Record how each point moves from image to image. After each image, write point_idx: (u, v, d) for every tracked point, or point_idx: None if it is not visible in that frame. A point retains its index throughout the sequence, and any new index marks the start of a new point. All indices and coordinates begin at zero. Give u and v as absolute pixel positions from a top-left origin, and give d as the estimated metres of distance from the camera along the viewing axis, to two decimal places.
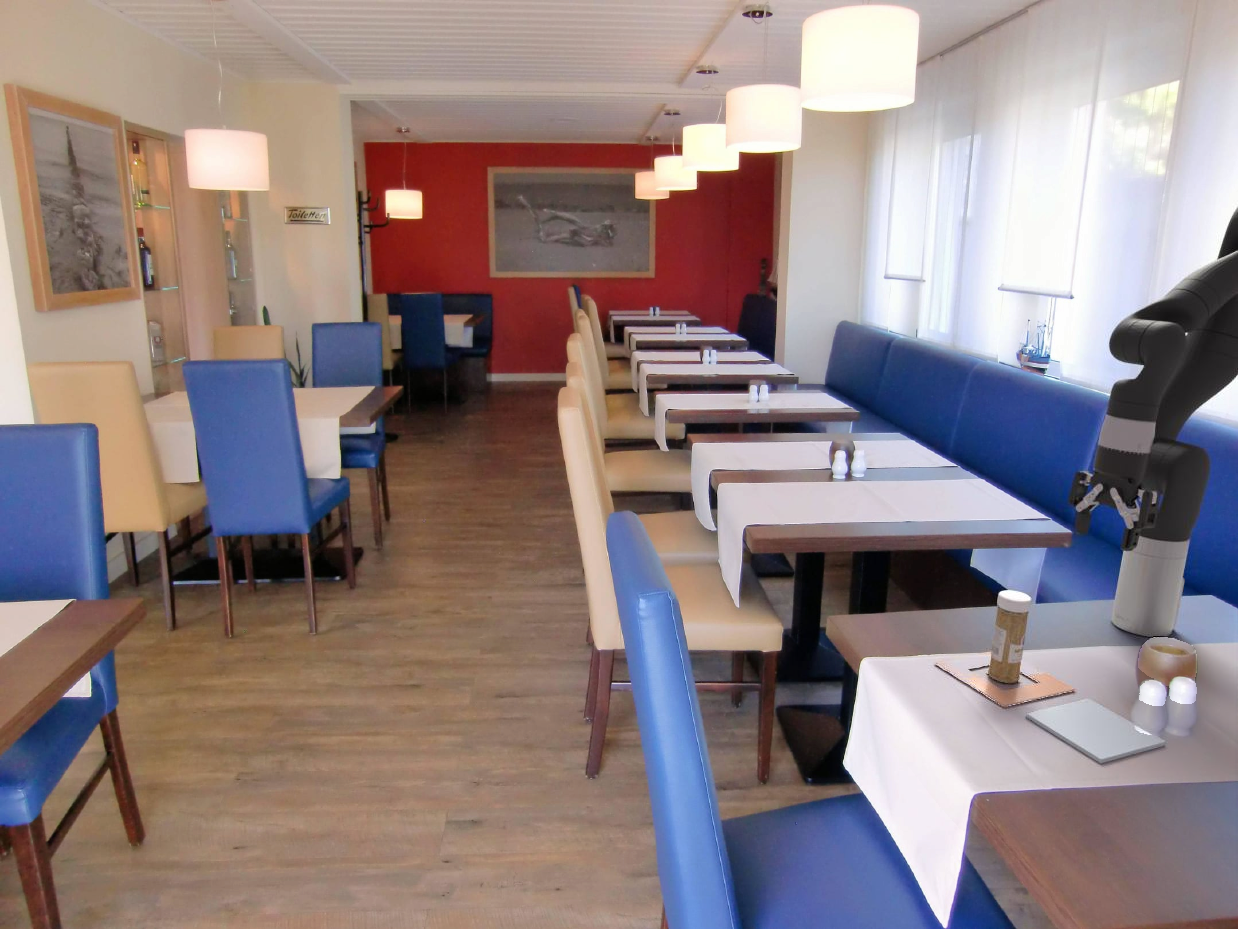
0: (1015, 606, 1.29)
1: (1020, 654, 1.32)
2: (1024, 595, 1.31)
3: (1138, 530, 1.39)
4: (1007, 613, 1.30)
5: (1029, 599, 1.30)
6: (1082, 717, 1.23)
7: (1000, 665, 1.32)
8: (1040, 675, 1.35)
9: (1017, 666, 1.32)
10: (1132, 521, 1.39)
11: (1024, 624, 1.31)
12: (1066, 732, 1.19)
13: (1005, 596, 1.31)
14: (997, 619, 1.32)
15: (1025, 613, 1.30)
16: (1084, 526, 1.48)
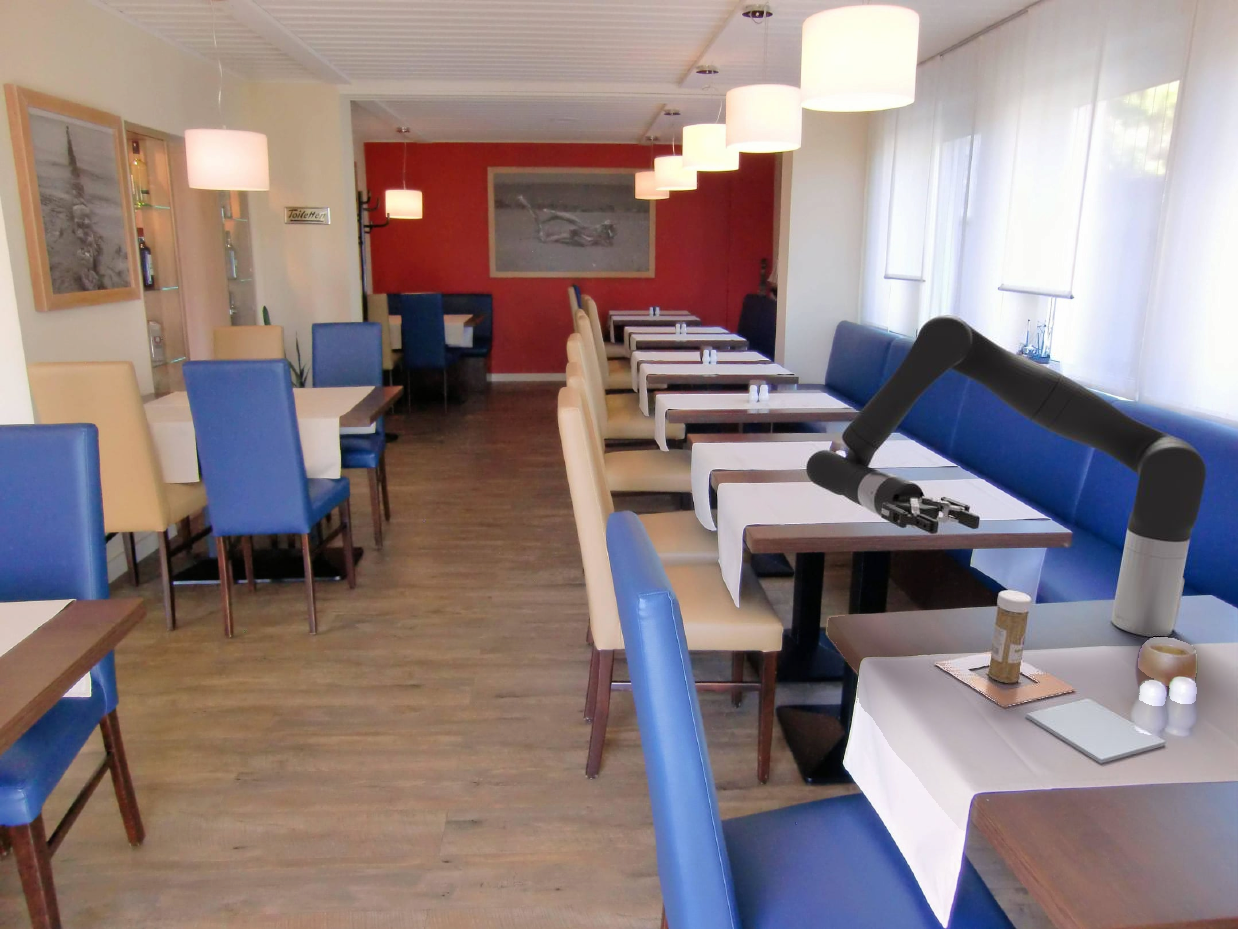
0: (1015, 606, 1.29)
1: (1020, 654, 1.32)
2: (1024, 595, 1.31)
3: (914, 520, 1.42)
4: (1007, 613, 1.30)
5: (1029, 599, 1.30)
6: (1082, 717, 1.23)
7: (1000, 665, 1.32)
8: (1040, 675, 1.35)
9: (1017, 666, 1.32)
10: (910, 525, 1.44)
11: (1024, 624, 1.31)
12: (1066, 732, 1.19)
13: (1005, 596, 1.31)
14: (997, 619, 1.32)
15: (1025, 613, 1.30)
16: (969, 520, 1.44)
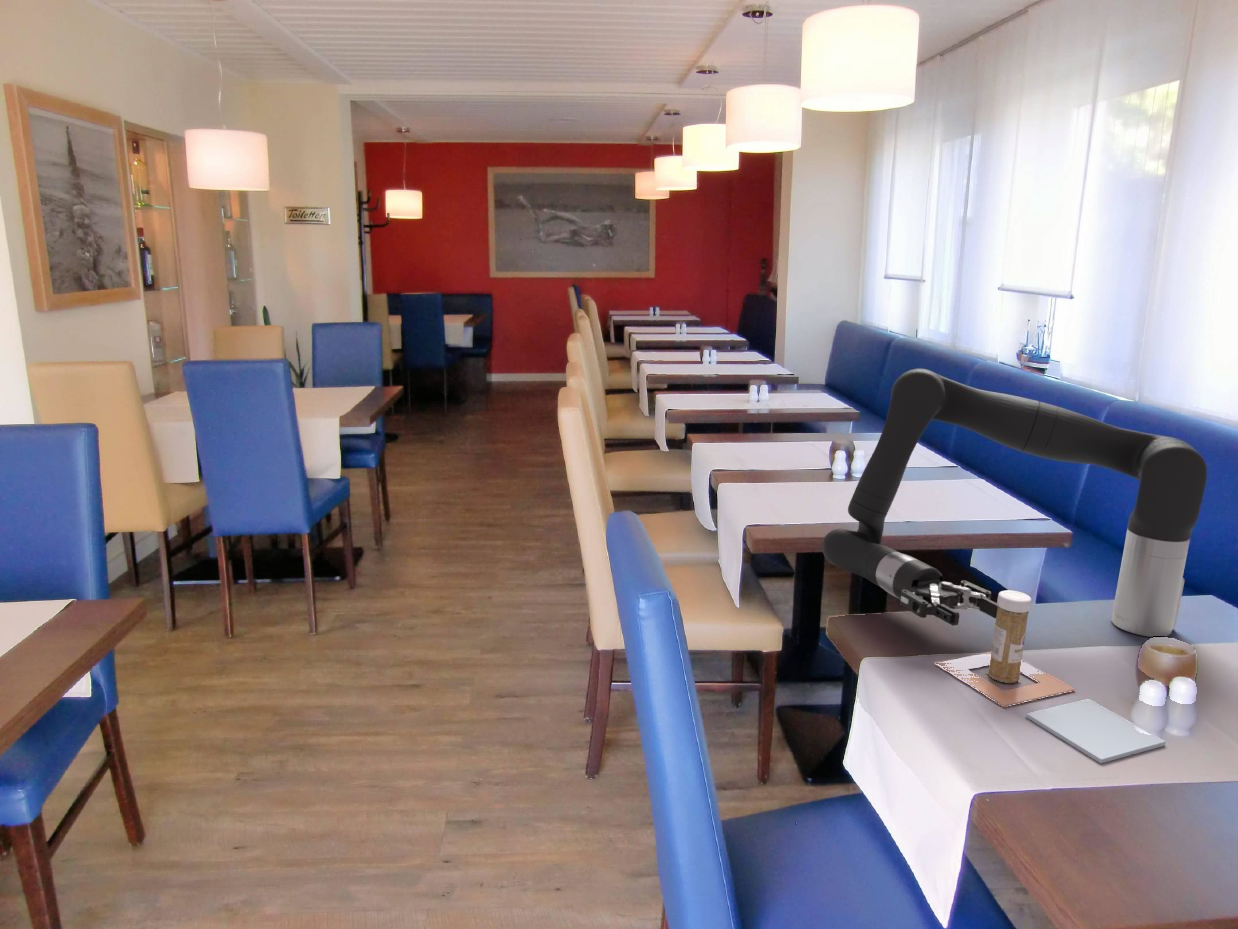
0: (1015, 606, 1.29)
1: (1020, 654, 1.32)
2: (1024, 595, 1.31)
3: (935, 610, 1.40)
4: (1007, 613, 1.30)
5: (1029, 599, 1.30)
6: (1082, 717, 1.23)
7: (1000, 665, 1.32)
8: (1040, 675, 1.35)
9: (1017, 666, 1.32)
10: None
11: (1024, 624, 1.31)
12: (1066, 732, 1.19)
13: (1005, 596, 1.31)
14: (997, 619, 1.32)
15: (1025, 613, 1.30)
16: (990, 609, 1.41)
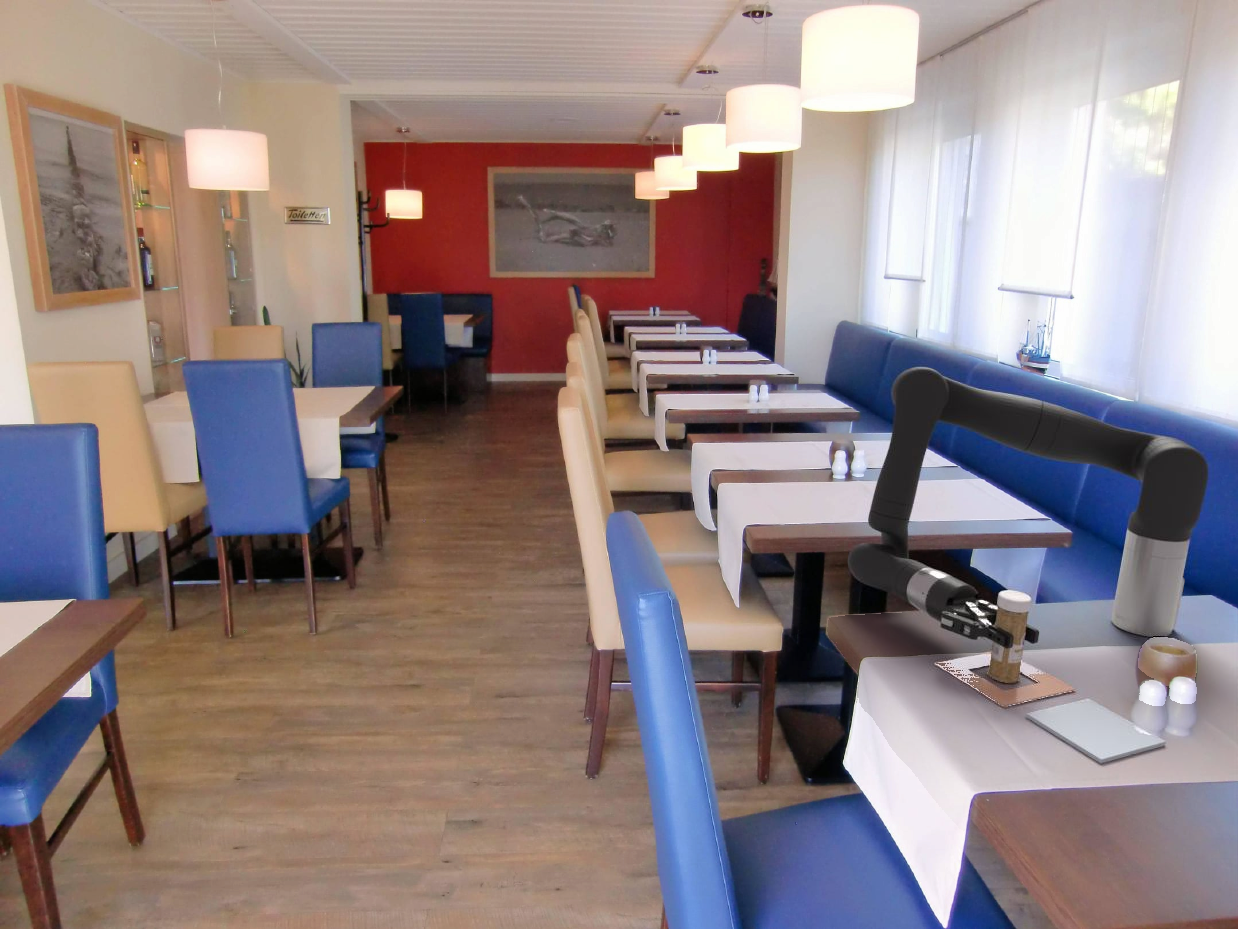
0: (1015, 606, 1.29)
1: (1020, 654, 1.32)
2: (1024, 595, 1.31)
3: (986, 632, 1.32)
4: (1007, 613, 1.30)
5: (1029, 599, 1.30)
6: (1082, 717, 1.23)
7: (1000, 665, 1.32)
8: (1040, 675, 1.35)
9: (1017, 666, 1.32)
10: None
11: (1024, 624, 1.31)
12: (1066, 732, 1.19)
13: (1005, 596, 1.31)
14: (997, 619, 1.32)
15: (1025, 613, 1.30)
16: (1027, 634, 1.32)
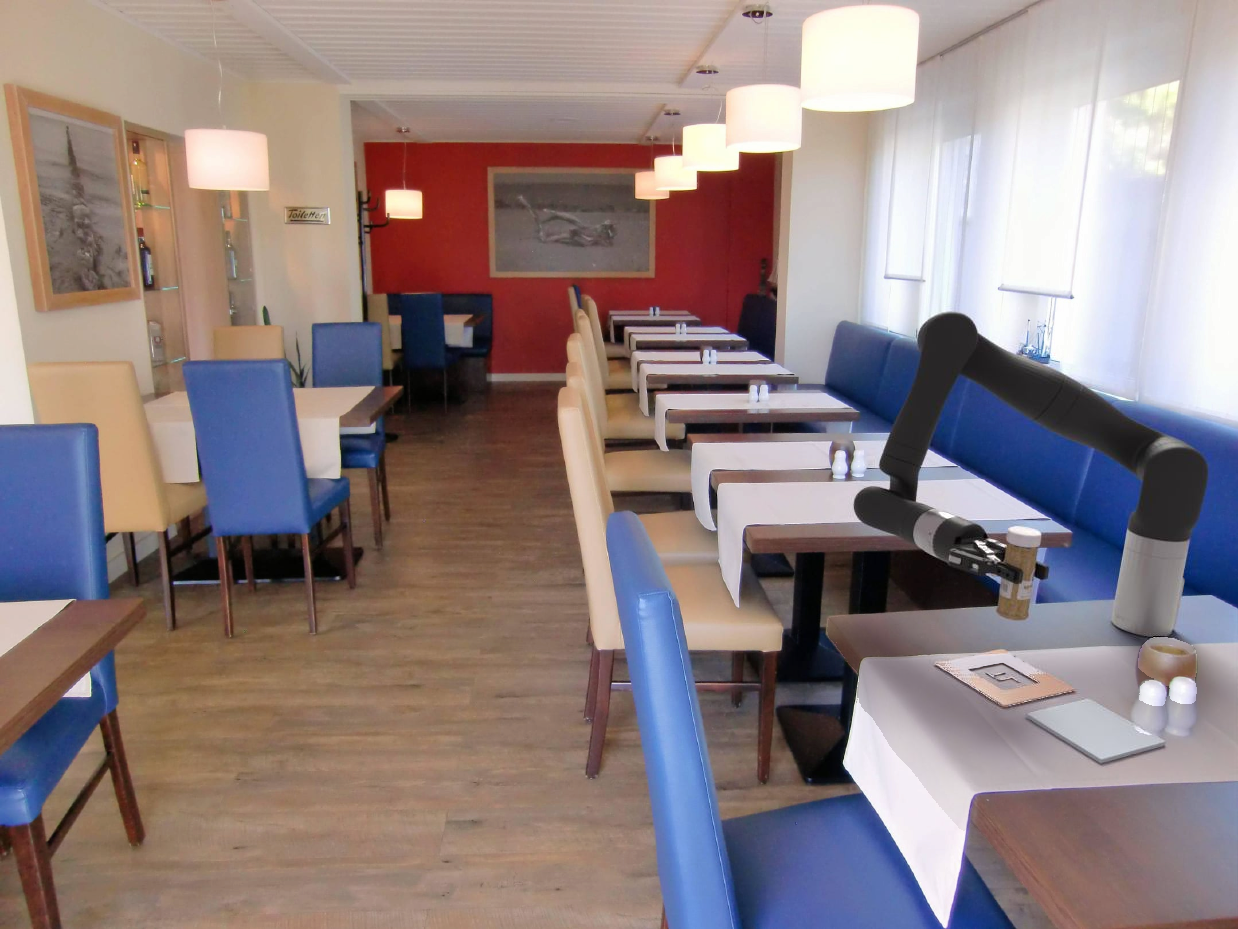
0: (1025, 540, 1.27)
1: (1029, 591, 1.29)
2: (1034, 530, 1.29)
3: (995, 568, 1.30)
4: (1016, 548, 1.28)
5: (1039, 534, 1.28)
6: (1082, 717, 1.23)
7: (1009, 602, 1.30)
8: (1040, 675, 1.35)
9: (1026, 603, 1.30)
10: (989, 573, 1.31)
11: (1034, 560, 1.28)
12: (1066, 732, 1.19)
13: (1015, 531, 1.28)
14: (1006, 555, 1.30)
15: (1035, 548, 1.28)
16: (1037, 570, 1.30)
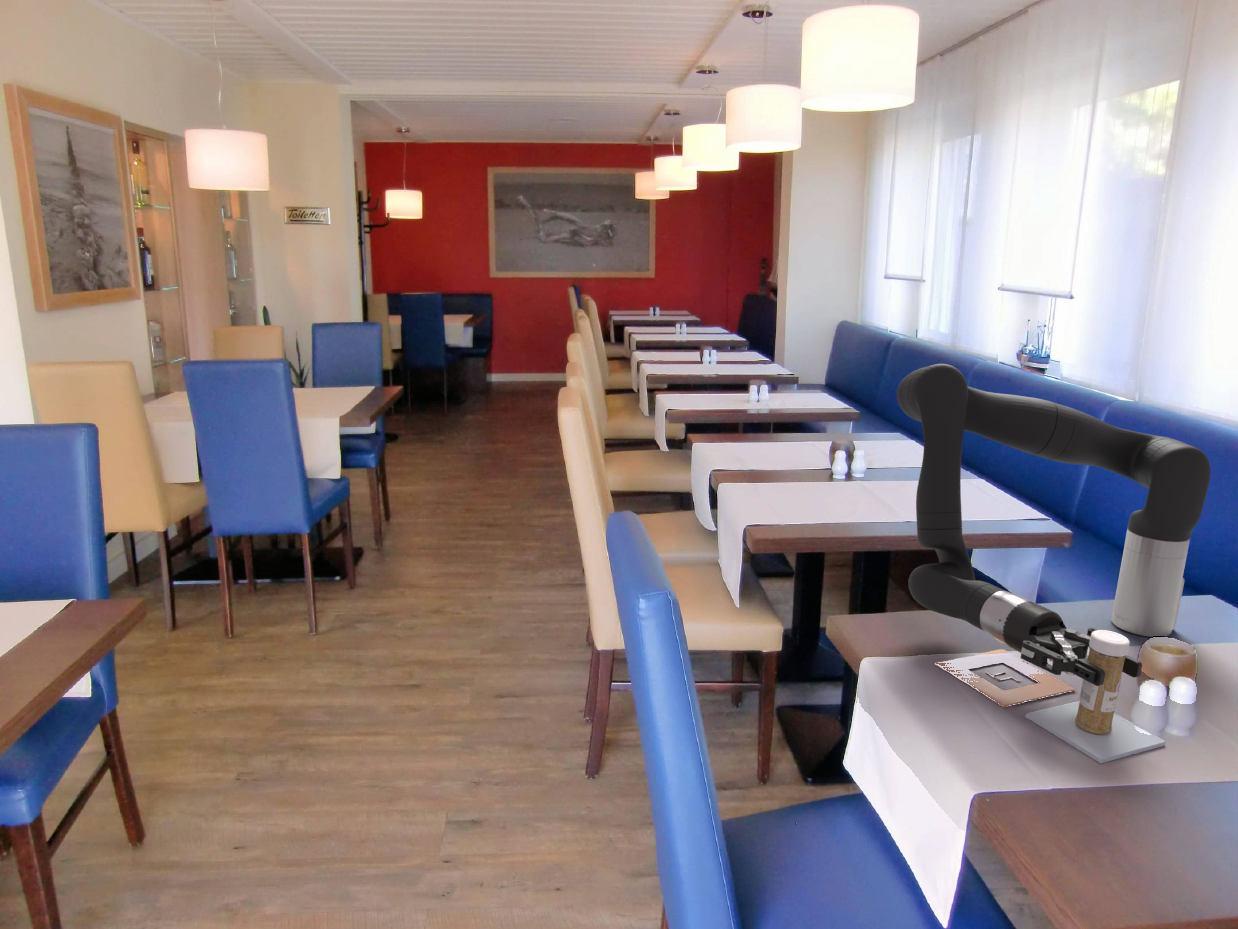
0: (1112, 649, 1.15)
1: (1114, 702, 1.17)
2: (1121, 636, 1.17)
3: (1072, 667, 1.17)
4: (1102, 656, 1.16)
5: (1127, 641, 1.16)
6: None
7: (1092, 714, 1.18)
8: (1040, 675, 1.35)
9: (1111, 716, 1.18)
10: None
11: (1121, 669, 1.16)
12: (1066, 732, 1.19)
13: (1100, 638, 1.16)
14: (1089, 662, 1.18)
15: (1123, 657, 1.16)
16: (1128, 666, 1.18)
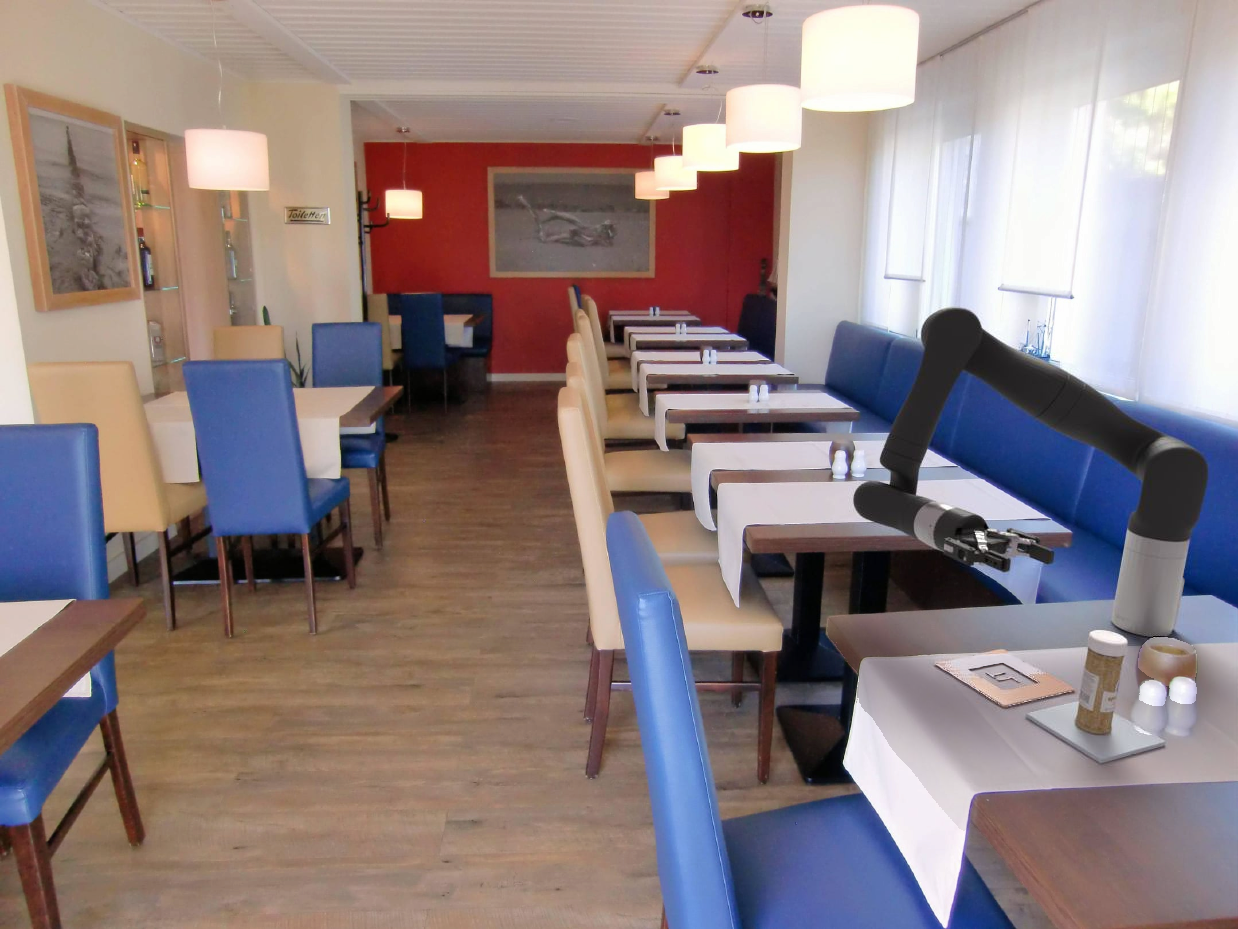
0: (1110, 649, 1.15)
1: (1114, 702, 1.17)
2: (1119, 636, 1.17)
3: (983, 557, 1.30)
4: (1100, 656, 1.16)
5: (1125, 641, 1.16)
6: None
7: (1091, 714, 1.18)
8: (1040, 675, 1.35)
9: (1110, 716, 1.18)
10: (977, 562, 1.31)
11: (1119, 669, 1.16)
12: (1066, 732, 1.19)
13: (1098, 638, 1.16)
14: (1088, 663, 1.18)
15: (1121, 657, 1.16)
16: (1042, 555, 1.31)
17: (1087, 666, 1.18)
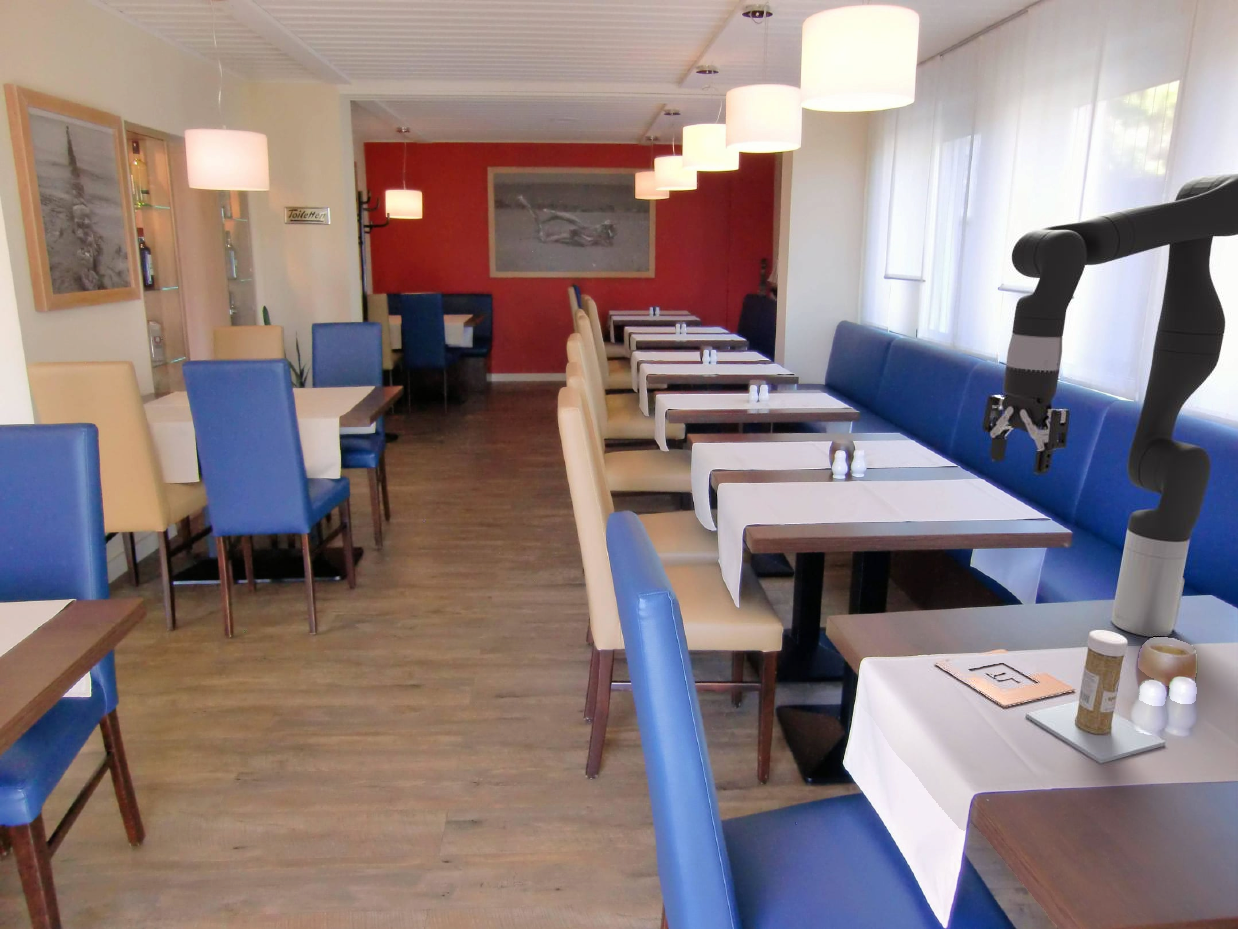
0: (1110, 649, 1.15)
1: (1114, 702, 1.17)
2: (1119, 636, 1.17)
3: (1050, 452, 1.34)
4: (1100, 656, 1.16)
5: (1125, 641, 1.16)
6: None
7: (1091, 714, 1.18)
8: (1040, 675, 1.35)
9: (1110, 716, 1.18)
10: (1043, 443, 1.33)
11: (1119, 669, 1.16)
12: (1066, 732, 1.19)
13: (1098, 638, 1.16)
14: (1088, 663, 1.18)
15: (1121, 657, 1.16)
16: (1000, 453, 1.42)
17: (1087, 666, 1.18)
